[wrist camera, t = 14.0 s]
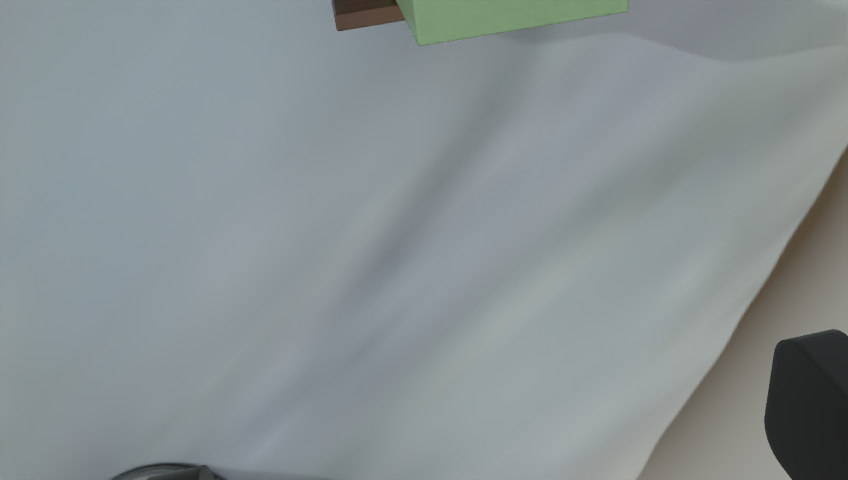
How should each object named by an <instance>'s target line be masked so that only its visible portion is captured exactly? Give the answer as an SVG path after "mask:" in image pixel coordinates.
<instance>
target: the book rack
mask: <svg viewBox="0 0 848 480" xmlns="http://www.w3.org/2000/svg"><path fill="white" fill-rule="evenodd" d="M332 6H333V12H334V17H335V23H336V28H337V31H343V30H349V29H355V28H361V27H367V26H373V25H379V24H385V23H391V22H397V21H403V20H405V18H404V16H403V14H402V12H401V10H400V8H399V6H398V4H397V2H396V0H332Z"/></svg>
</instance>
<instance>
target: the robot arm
mask: <svg viewBox="0 0 848 480" xmlns="http://www.w3.org/2000/svg"><path fill="white" fill-rule="evenodd" d="M764 422H765V431H766V435H767V439H768V442H769V444H770V447H771V449H772V451H773V453H774V455H775V457H776V458H777V460H778V462H779V463H780V464H781V466H782V467H783V468H784V470H785V471H786V472H787V474H788V475H789V476H790V478H791V479H792V480H848V336H847V335H846V334H845V333H843V332H841V331H839V330H834V329H831V330H827V331H822V332H819V333H813V334H809V335H804V336H800V337H795V338H790V339H786V340H782V341H780V342H779V343H778V344H777V346H776V348H775V352H774V357H773V364H772V370H771V378H770V384H769V391H768V397H767V404H766V411H765V419H764ZM113 480H221V479H219V478H218V477H216V476H214V475H212V473H211V471H210V469H209V468H208V467H207V466H206V465H202V466H198V467H193V468H188V467H181V466H154V467H147V468H142V469H137V470H134V471H131V472H128V473H125V474H123V475H121V476H119V477H117V478H115V479H113Z"/></svg>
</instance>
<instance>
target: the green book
mask: <svg viewBox="0 0 848 480" xmlns="http://www.w3.org/2000/svg"><path fill="white" fill-rule="evenodd" d="M396 2H397V4H398V6H399V8H400V10H401V12H402V14H403V16H404V18H405V20H406V22H407V24H408V26H409V28H410V30H411V32H412V34H413V36H414V38H415V40H416V42H417V44H418V46H424V45H430V44H436V43H442V42H448V41H454V40H460V39H466V38H472V37H478V36H484V35H490V34H496V33H502V32H508V31H514V30H520V29H526V28H532V27H538V26H544V25H550V24H556V23H562V22H568V21H575V20H581V19H587V18H593V17H599V16H605V15H611V14H617V13H623V12H627V11H628V0H396Z"/></svg>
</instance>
